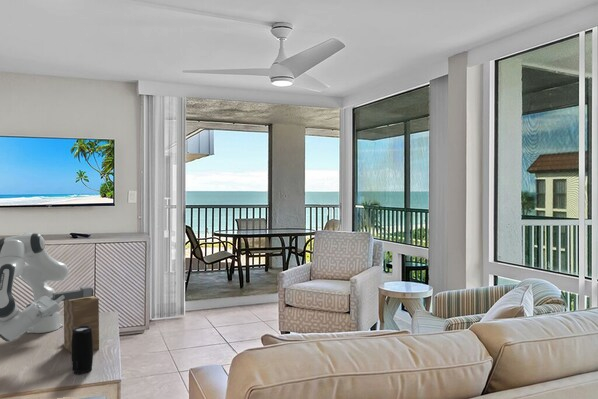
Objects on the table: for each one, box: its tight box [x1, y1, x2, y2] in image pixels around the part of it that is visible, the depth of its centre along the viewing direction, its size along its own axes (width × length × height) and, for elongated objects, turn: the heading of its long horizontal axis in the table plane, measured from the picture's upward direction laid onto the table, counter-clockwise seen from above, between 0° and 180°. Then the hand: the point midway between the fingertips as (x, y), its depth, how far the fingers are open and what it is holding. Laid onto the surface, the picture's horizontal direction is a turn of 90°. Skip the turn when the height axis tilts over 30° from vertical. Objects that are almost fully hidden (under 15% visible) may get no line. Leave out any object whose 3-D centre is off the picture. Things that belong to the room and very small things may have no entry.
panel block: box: [63, 295, 100, 354], centre depth 236 cm, size 15×12×26 cm
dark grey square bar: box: [53, 285, 94, 302], centre depth 229 cm, size 5×18×5 cm, turn 134°
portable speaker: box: [71, 325, 94, 375], centre depth 207 cm, size 9×9×20 cm
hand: (62, 295), depth 226 cm, fingers closed on dark grey square bar, 4 cm apart
